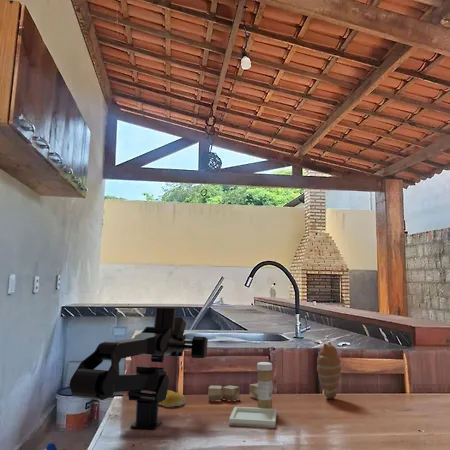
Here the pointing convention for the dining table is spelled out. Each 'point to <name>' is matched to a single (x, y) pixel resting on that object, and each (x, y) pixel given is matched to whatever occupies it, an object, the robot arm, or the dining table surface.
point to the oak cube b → (230, 393)
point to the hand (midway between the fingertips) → (188, 347)
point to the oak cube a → (215, 393)
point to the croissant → (329, 370)
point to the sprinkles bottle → (264, 384)
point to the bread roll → (173, 399)
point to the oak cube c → (254, 390)
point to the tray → (253, 417)
